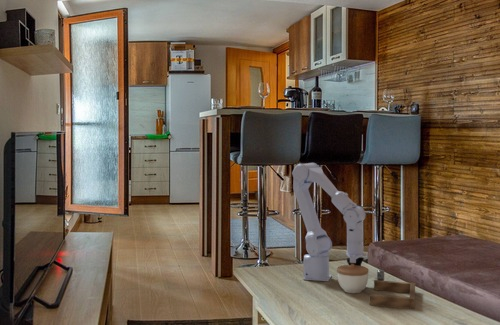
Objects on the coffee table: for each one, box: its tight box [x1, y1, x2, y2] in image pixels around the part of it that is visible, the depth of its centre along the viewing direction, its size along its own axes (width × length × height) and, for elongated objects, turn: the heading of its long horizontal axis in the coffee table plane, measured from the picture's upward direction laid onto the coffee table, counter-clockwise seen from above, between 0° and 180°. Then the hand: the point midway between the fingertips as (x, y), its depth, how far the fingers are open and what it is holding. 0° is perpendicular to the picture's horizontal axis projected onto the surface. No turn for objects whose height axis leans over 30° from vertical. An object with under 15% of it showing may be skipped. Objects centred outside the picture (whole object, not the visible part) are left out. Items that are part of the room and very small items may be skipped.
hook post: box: [376, 269, 385, 281], centre depth 175 cm, size 2×4×6 cm, turn 161°
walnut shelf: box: [369, 279, 416, 310], centre depth 164 cm, size 14×18×3 cm
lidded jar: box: [336, 264, 369, 294], centre depth 173 cm, size 11×11×9 cm
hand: (355, 278), depth 180 cm, fingers closed
